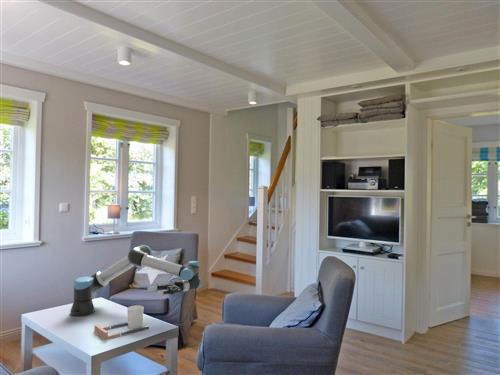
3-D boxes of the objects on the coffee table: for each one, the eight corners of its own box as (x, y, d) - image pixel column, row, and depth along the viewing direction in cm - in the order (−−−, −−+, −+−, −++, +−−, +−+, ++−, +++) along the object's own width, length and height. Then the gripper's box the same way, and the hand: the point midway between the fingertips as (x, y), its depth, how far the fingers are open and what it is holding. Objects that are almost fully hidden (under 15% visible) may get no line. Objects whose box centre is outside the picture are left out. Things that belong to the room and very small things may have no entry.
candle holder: (138, 330, 226) (139, 310, 226) (123, 329, 228) (124, 309, 228) (146, 325, 236) (146, 305, 236) (131, 323, 238) (132, 304, 238)
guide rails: (110, 327, 229) (110, 325, 229) (136, 321, 241) (136, 319, 241) (122, 335, 218) (122, 332, 218) (148, 328, 229) (148, 326, 229)
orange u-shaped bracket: (94, 331, 223) (94, 325, 223) (109, 328, 229) (109, 321, 229) (105, 339, 211) (105, 332, 211) (120, 335, 217) (120, 329, 217)
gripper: (191, 295, 245) (162, 301, 231) (171, 288, 263) (143, 293, 249) (191, 284, 245) (163, 289, 231) (171, 277, 264) (143, 281, 249)
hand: (152, 291), depth 240 cm, fingers open, 13 cm apart
